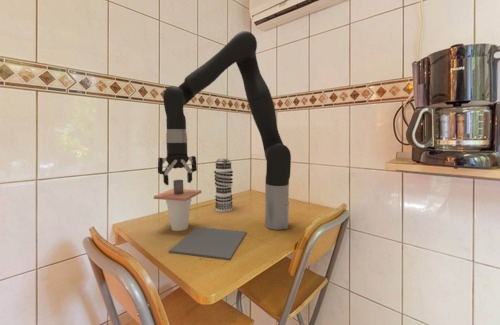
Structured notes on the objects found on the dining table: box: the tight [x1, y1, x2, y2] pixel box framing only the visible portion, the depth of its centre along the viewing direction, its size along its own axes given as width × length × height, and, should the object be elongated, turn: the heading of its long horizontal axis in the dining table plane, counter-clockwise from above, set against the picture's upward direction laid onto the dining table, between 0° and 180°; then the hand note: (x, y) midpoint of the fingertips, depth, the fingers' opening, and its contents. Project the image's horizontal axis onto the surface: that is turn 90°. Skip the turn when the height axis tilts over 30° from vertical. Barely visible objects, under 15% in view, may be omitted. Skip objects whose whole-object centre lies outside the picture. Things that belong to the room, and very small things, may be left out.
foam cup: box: [165, 198, 192, 232], centre depth 93 cm, size 10×9×13 cm
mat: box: [168, 226, 247, 261], centre depth 82 cm, size 20×20×1 cm
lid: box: [153, 179, 202, 201], centre depth 92 cm, size 13×13×6 cm
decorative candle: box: [213, 158, 234, 213], centre depth 117 cm, size 9×9×25 cm
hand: (178, 183), depth 92 cm, fingers open, 8 cm apart
